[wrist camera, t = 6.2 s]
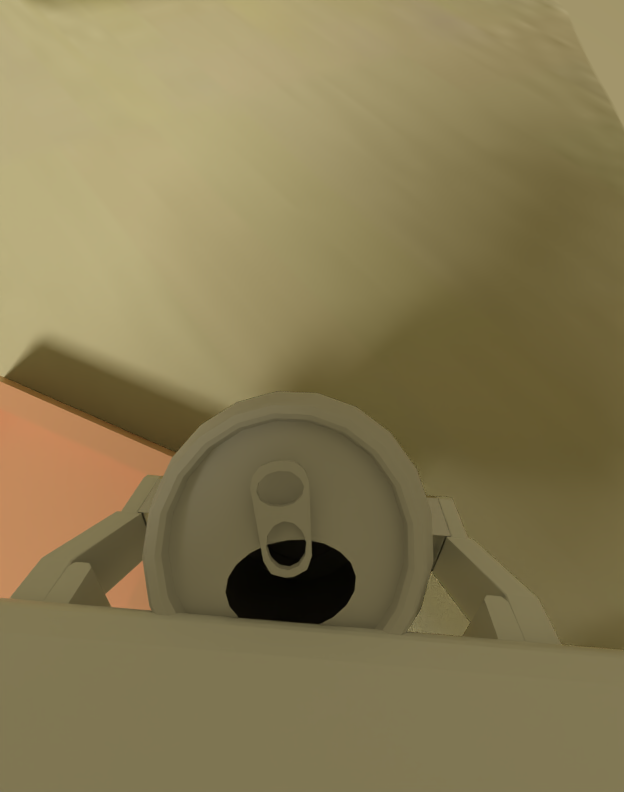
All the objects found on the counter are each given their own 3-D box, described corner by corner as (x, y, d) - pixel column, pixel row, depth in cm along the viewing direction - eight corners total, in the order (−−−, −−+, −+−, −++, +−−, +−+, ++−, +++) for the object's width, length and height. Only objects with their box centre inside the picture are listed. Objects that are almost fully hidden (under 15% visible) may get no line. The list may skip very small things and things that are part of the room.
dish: (87, 788, 16) (36, 858, 13) (-171, 643, 17) (-270, 677, 14) (230, 476, 19) (215, 476, 16) (3, 376, 21) (-49, 360, 18)
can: (239, 583, 18) (99, 785, 6) (231, 442, 20) (110, 390, 8) (380, 566, 18) (501, 731, 6) (359, 427, 20) (425, 356, 8)
